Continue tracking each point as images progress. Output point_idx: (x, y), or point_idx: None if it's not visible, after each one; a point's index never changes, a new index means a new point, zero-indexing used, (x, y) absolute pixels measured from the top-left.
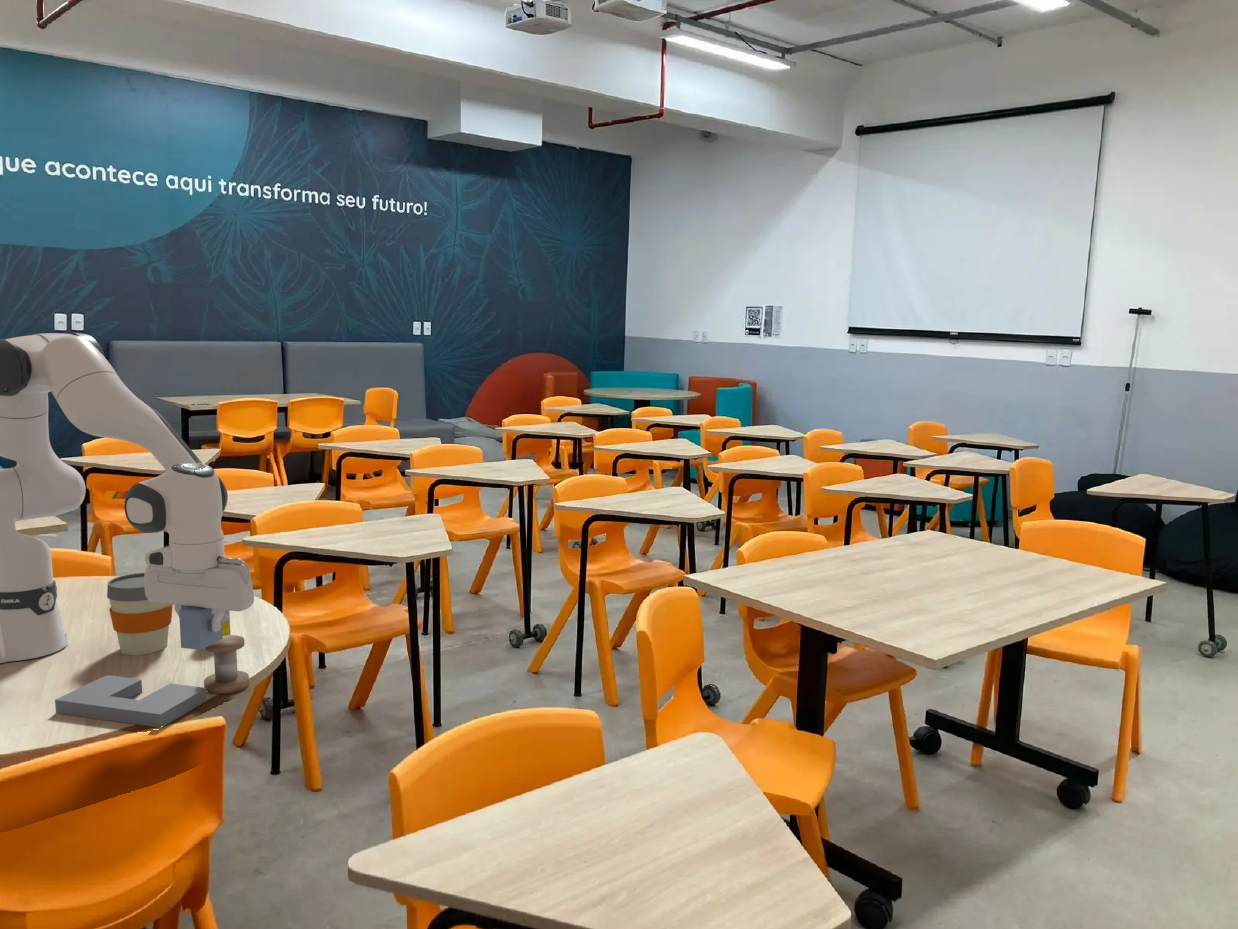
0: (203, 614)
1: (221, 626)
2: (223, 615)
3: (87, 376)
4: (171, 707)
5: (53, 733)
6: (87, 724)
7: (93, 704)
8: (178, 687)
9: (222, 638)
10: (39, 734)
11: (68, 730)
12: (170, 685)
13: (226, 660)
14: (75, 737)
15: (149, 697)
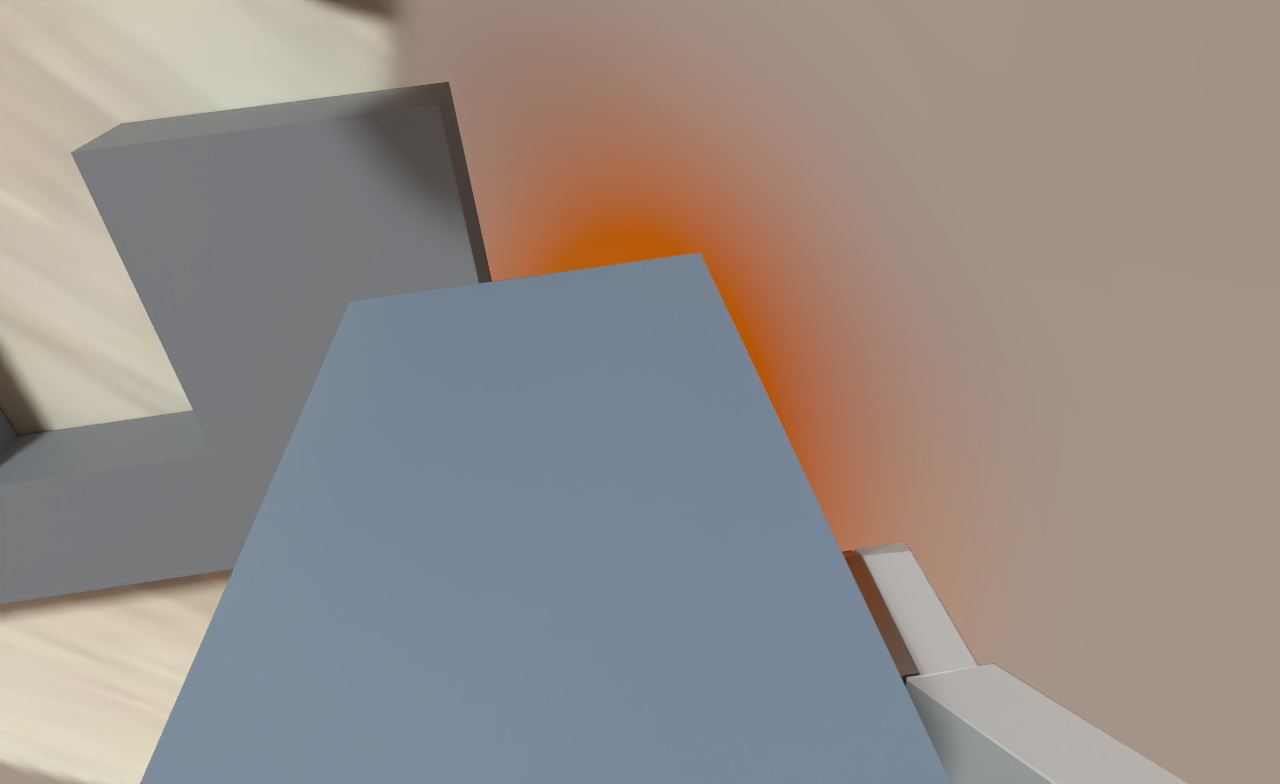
0: None
1: (747, 368)
2: (1123, 759)
3: None
4: None
5: (120, 683)
6: (145, 583)
7: (43, 590)
8: (224, 192)
9: (699, 255)
10: (78, 709)
11: (143, 646)
12: (124, 189)
13: None
14: None
15: (231, 404)
